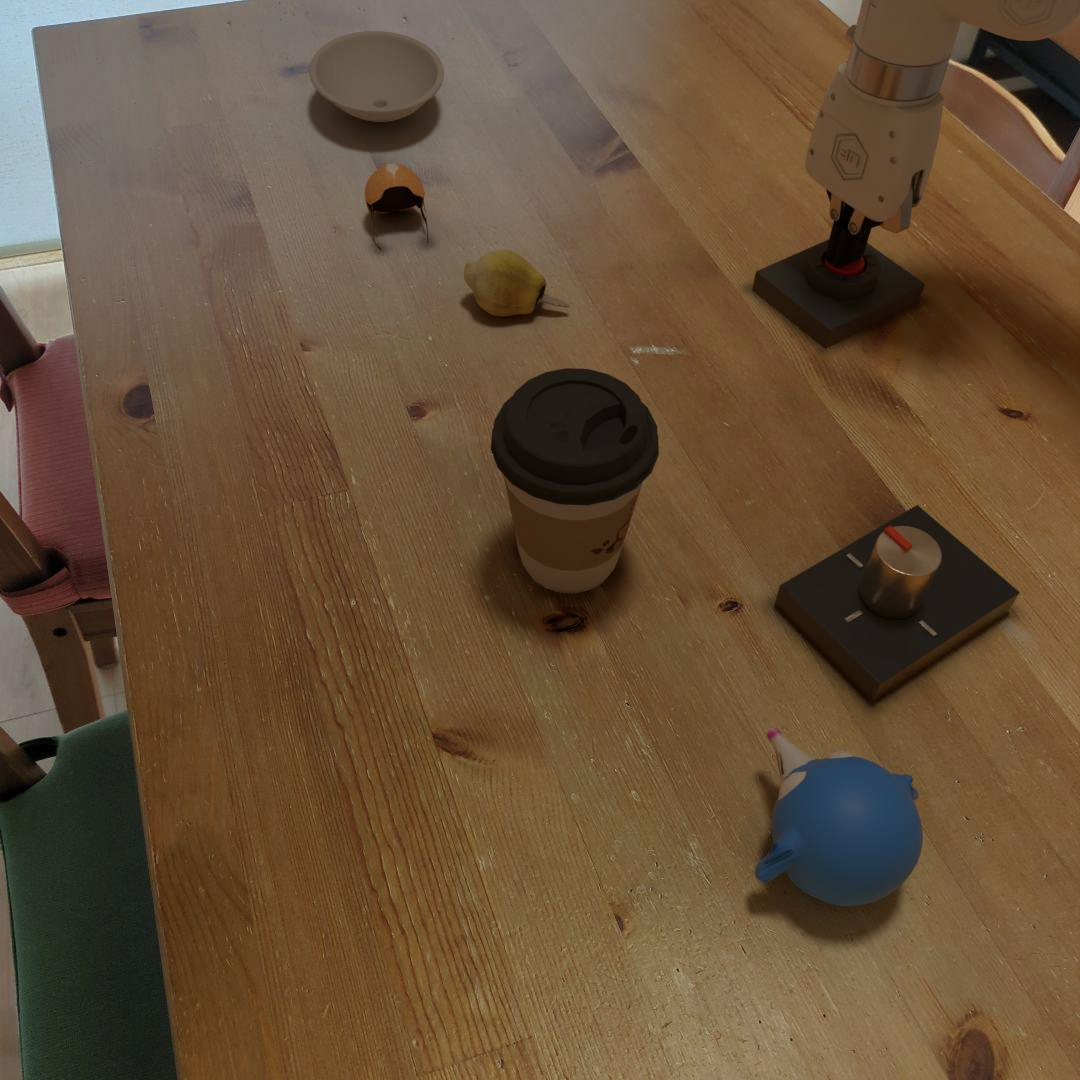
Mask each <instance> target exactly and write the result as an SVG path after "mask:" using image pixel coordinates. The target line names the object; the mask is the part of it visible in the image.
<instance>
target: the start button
mask: <svg viewBox="0 0 1080 1080" xmlns="http://www.w3.org/2000/svg"><path fill="white" fill-rule="evenodd" d="M823 265H824V267H826V268H827V269H828V270H830V271H831V272H833V273H836V274H840V275H843V276H856V275H858V274H860V273H862V272H863V268H864V265H865V261H864V259H863V257H861V258H860V259H859V260H857V261H855V262H852V263H850V264H847V265H845V266H843V267H841V268H839V269H837V268H836V267H835V266H833V262H830V263H829V262H828V261H827V260H825V259H824V263H823Z"/></svg>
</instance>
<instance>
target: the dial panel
mask: <svg viewBox="0 0 1080 1080" xmlns="http://www.w3.org/2000/svg"><path fill="white" fill-rule="evenodd" d="M890 525H891V526H892V527H895V526H909V527H914V528H917V529H919V530H922V531H924V532H925V533H927V534H929V535H930V536H931V537H932V538H933V539H934V540H935V541H936V542H937V544H938V545H939V547H940V549H941V553H942V560H941V563H940V566H939V568H938V570H937V572H936V574H935V576H934V578H933V580H932V583H931V585H930V587H929V589H928V591H927V593H926V595H925V597H924V600H923V602H922V604H921V606H920V608H919V609H918V611H917V612H916V613H914V614H913V615H911V616H909V617H906V618H902V619H891V618H886V617H883V616H881V615H878V614H876V613H875V612H873V611H872V610H870V609H869V608H868V607H867V606H866V605H865V603H864V602H863V600H862V598H861V596H860V592H859V586H860V582H861V580H862V577H863V574H864V572H865V569H866V567H867V564H868V562H869V559H870V556H871V554H872V551H873V549H874V546H875V544H876V541H877V539H878V537H879V535H880V534H881V533H882V532H883V531H884V529H885V528H887V527H889V526H890ZM1019 595H1020V591H1019V589H1017V588H1016V587H1014V585H1012V584H1011V583H1010V582H1009V581H1008V580H1007V579H1005V578H1004V577H1003V576H1002V575H1001V574H999V573H998V572H997V571H996V570H994V569H993V568H992V567H991V566H990V565H989V564H988V563H987V562H985V561H984V560H983V559H982V558H981V557H979V556H978V555H977V554H976V553H975V552H973V551H972V550H971V549H970V548H969V547H968V546H967V545H965V544H964V543H963V542H962V541H961V540H960V539H958V538H957V537H956V536H955V535H954V534H953V533H951V531H949V530H948V529H947V528H945V527H944V526H943V525H942V524H940V522H938V521H937V520H936V519H935V518H934V517H932V515H930V514H929V513H928V512H927V511H925V510H924V509H923V508H922V507H920V505H918V504H916V505H915V506H912V507H911V508H909V509H908V510H906V511H905V512H903V513H901V514H899V515H898V516H896V517H894V518H892V519H891V520H888V521H887V522H886V523H884V524H882V525H880V526H878V527H877V528H875V529H874V530H872V531H870V532H868V533H867V534H865V535H863V536H861V537H860V538H858V539H857V540H855V541H853V542H851V543H849V544H848V545H846V546H845V547H843V548H840V549H839V550H838V551H836V552H834V553H833V554H831V555H829V556H827V557H825V558H824V559H822V560H821V561H819V562H817V563H816V564H814V565H812V566H810V567H808V568H807V569H805V570H803V571H802V572H800V573H798V574H796V575H795V576H793V577H791V578H789V579H788V580H786V581H784V582H783V583H781V584H780V585H779V588H778V591H777V595H776V598H775V600H774V606H775V608H776V609H778V610H779V611H780V612H781V614H783V615H784V616H785V618H787V619H788V621H789V622H790V623H791V624H792V625H794V627H795V628H797V630H798V631H800V632H801V634H802V635H803V636H804V637H805V638H806V639H807V640H808V641H809V642H810V643H811V644H812V645H813V646H814V647H815V648H816V649H817V650H818V651H819V652H820V653H821V654H822V655H823V656H824V657H825V658H826V659H827V660H828V661H829V662H830V663H831V664H832V665H833V666H834V667H835V668H836V669H837V670H838V671H839V672H840V673H841V674H842V675H843V677H845V678H846V679H847V681H849V682H850V683H851V684H852V685H853V686H854V687H855V688H856V689H857V690H858V691H859V692H860V693H861V694H862V695H863V697H865V698H866V699H867V700H868V701H869V702H870V703H873V702H875V701H876V700H878V699H880V698H881V697H882V696H884V695H885V694H887V693H888V692H890V691H891V690H893V689H895V688H896V687H897V686H899V685H900V684H902V683H903V682H906V681H907V680H908V679H909V678H911V677H913V676H914V675H916V674H918V672H920V671H922V670H923V669H925V668H926V667H928V666H929V665H931V664H933V663H934V662H935V661H937V660H938V659H940V658H942V657H943V656H944V655H946V654H948V653H949V652H950V651H952V650H954V649H956V647H958V646H959V645H962V643H964V642H965V641H967V640H968V639H970V638H972V637H973V636H975V635H976V634H977V633H979V632H981V631H982V630H983V629H985V628H987V627H988V626H990V625H992V624H993V623H994V622H996V621H997V620H998V619H1000V618H1002V617H1003V616H1005V615H1006V614H1008V613H1009V612H1010V610H1011V608H1012V607H1013V605H1014V603H1015V602H1016V600H1017V598H1018V597H1019Z"/></svg>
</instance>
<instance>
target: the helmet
mask: <svg viewBox="0 0 1080 1080" xmlns="http://www.w3.org/2000/svg"><path fill="white" fill-rule="evenodd" d="M425 196H426V192H425V188H424V185H423V183H422V180H421V179H420V177H419V176H418V174H417V173H415V172H414V170H413V169H411V168H409V167H407V166H405V165H402V164H400V163H387V164H384V165H382V166H380V167H379V168H377V169H376V170H375V171H373V173H372V174H370V176H369V178H368V179H367V181H366V183H365V187H364V200H365V204H366V208H367V210H368V212H369V215H370V217H371V221H372V226H373V229H374V234H375V238H376V241H377V244H378V247H379V248H380V250H382V248H381V246H380V242H379V240H378V237H377V233H376V224H375V219H374V214H375V213H381V214H388V213H394V212H404V211H407V210H409V209H412V208H415V207H417V208H418V209H419V210H420V214H421V217H422V219H423V221H424V224H425V227H426V237H427V239H426V243H427V244H429V228H428V220H427V217H426V215H427V211H426V206H425Z"/></svg>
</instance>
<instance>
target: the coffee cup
mask: <svg viewBox="0 0 1080 1080" xmlns="http://www.w3.org/2000/svg"><path fill="white" fill-rule="evenodd" d="M659 447H660V445H659V435H658V425H657V423H656V421H655V419H654V417H653V415H652V412H651V411H650V409H649V407H648V406H647V405H646V404H645V403H644V402H643V401H642V399H641V397H640V395H638V394H637V392H636V391H634V390H633V388H631V387H630V386H629V385H628V384H627V383H626V382H624V381H623V380H621V379H619V378H617V377H615V376H613V375H611V374H609V373H606V372H602V371H598V370H594V369H590V368H574V367H573V368H572V367H565V368H561V369H555V370H549V371H545V372H543V373H541V374H538V375H536V376H534V377H532V378H529V379H528V380H526V381H525V382H524V383H523V384H522V385H521V386H519V387H518V388H517V389H516V390H515V391H514V392H513V394H512V396H510V397H509V398H508V399H506V401H504V403H503V404H502V406H501V407H500V410H499V411H498V413H497V414H496V416H495V418H494V420H493V428H492V430H491V440H490V451H491V454H492V456H493V460H494V462H495V465H496V468H497V469H498V470H499V472H500V473H502V475H503V480H504V486H505V491H506V496H507V500H508V505H509V510H510V516H511V520H512V525H513V530H514V531H513V532H514V535H515V540H516V546H517V550H518V555H519V558H520V560H521V564H522V566H523V567H524V568H525V572H526V573H527V574H528V575H529V576H530V577H531V579H532V581H534V582H535V583H537V584H538V585H540V586H541V587H542V588H544V589H546V590H550V591H553V592H556V593H560V594H579V593H584V592H587V591H592V589H595V588H596V587H598V586H600V585H602V584H603V583H604V582H605V581H606V580H607V579H608V577H610V576H611V573H612V572H613V571H614V570H615V569H616V566H617V564H618V561H619V558H620V555H621V552H622V549H623V546H624V543H625V541H626V540H625V539H626V537H627V533H628V530H629V527H630V524H631V521H632V517H633V514H634V511H635V508H636V504H637V501H638V498H639V495H640V492H641V488H642V485H643V482H644V481H645V480H647V478H648V477H649V476H650V475H651V474H652V473H653V470H654V469H655V465H656V463H657V461H658V458H659V456H660V448H659Z"/></svg>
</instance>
